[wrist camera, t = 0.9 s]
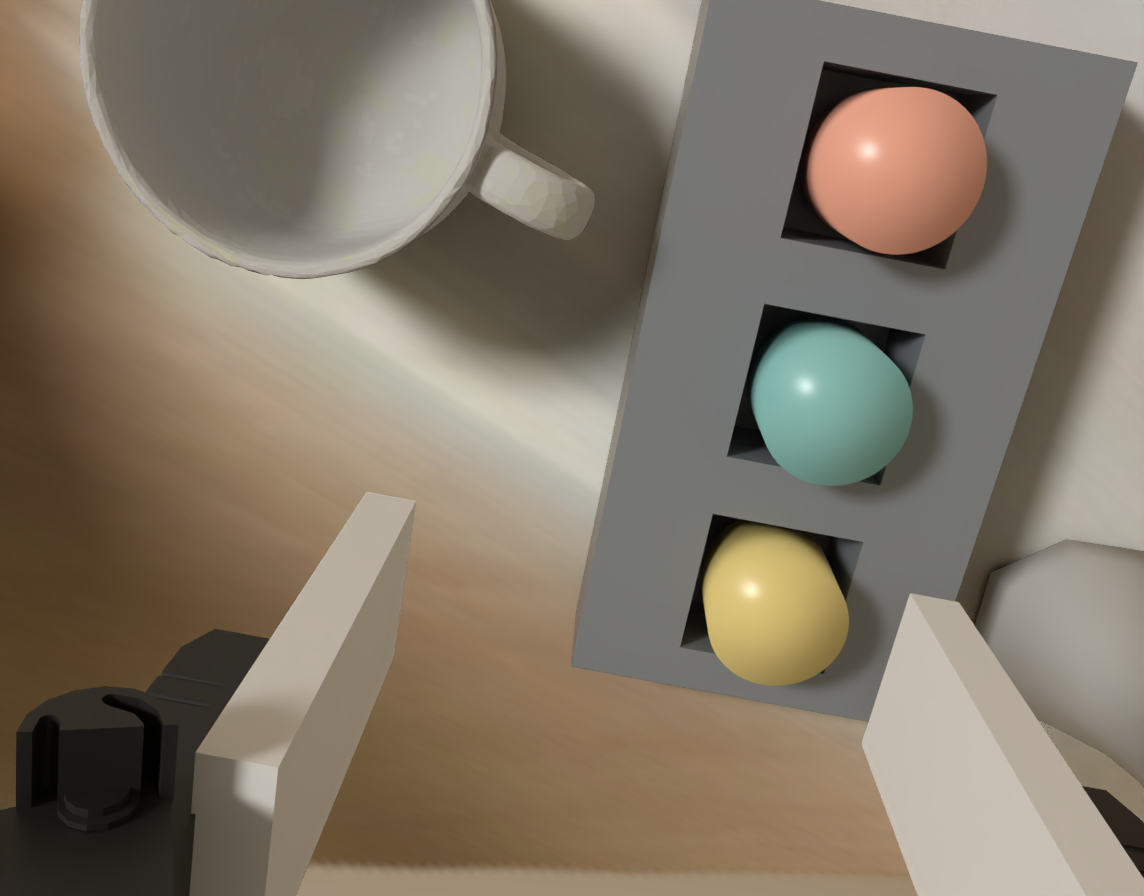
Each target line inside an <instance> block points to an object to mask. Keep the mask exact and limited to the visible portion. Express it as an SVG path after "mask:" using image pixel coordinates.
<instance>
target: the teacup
mask: <svg viewBox="0 0 1144 896" xmlns="http://www.w3.org/2000/svg"><path fill="white" fill-rule="evenodd" d="M80 65H81V72H82V78H83V84H84V88H85V92H86V96H87V101H88V106H89V108H90V111H91V113H92V116H93V121H94V124H95V126H96V128H97V129H98V131H99V134H100V137H101V140H102V142H103V145H104V147H105V149H106V151H107V152H108V154H109V156H110V158H111V160H112V162H113V163H114V165H115V167H116V169H117V170H118V172H119V173H120V175H121V176H122V178H123V179H124V181H125V182H126V183H127V185H128V186H129V187H130V189H131V190H132V191H133V193H134V194H135V195H136V197H137V198H138V199H139V200H140V202H141V203H142V204H144V205H145V206H146V207H147V208H148V209H149V210H150V212H151V213H152V214H153V215H154V216H155V217H156V219H158V220H159V221H160V222H161V223H162V224H164V225H165V226H166V227H167V228H168V229H169V230H170V231H171V232H172V233H174V234H176V235H178V236H180V237H181V238H182V239H183V240H185V241H186V242H187V243H189V244H190V245H192V246H193V247H195V248H197V249H198V250H200V251H201V252H203V253H205V254H206V255H208V256H209V257H211V258H214V259H218V260H220V261H222V262H224V263H226V264H228V265H230V266H236V267H242V268H244V269H246V270H248V271H252V272H256V273H260V274H264V275H274V276H277V277H283V278H294V279H311V278H319V277H325V276H331V275H337V274H343V273H348V272H352V271H355V270H358V269H361V268H364V267H367V266H370V265H373V264H375V263H377V262H380V261H382V260H384V259H386V258H388V257H390V256H392V255H394V254H396V253H398V252H399V251H401V250H402V249H404V248H405V247H406V246H408V245H409V244H411V243H412V242H413V241H415V240H416V239H417V238H418V237H420V236H421V235H423V234H425V233H426V232H428V231H429V230H431V229H432V228H433V227H435V226H436V225H437V224H439V223H440V222H441V221H442V220H444V219H445V218H446V217H447V216H448V215H449V214H450V213H451V212H452V211H453V210H454V209H455V208H456V207H457V206H458V205H459V204H460V203H461V201H462V200H463V199H464V198H465V197H466V196H467V194H468V193H469V192H470V193H472V194H473V195H475V196H476V197H477V198H479V199H480V200H482V201H484V202H486V203H487V204H489V205H491V206H493V207H494V208H496V209H498V210H499V211H501V212H503V213H505V214H506V215H508V216H511V217H513V218H514V219H516V220H518V221H519V222H521V223H523V224H525V225H527V226H529V227H531V228H533V229H536V230H538V231H540V232H543V233H545V234H548V235H550V236H553V237H555V238H558V239H563V240H571V239H573V238H575V237H577V236H578V235H580V234H581V233H582V232H583V230H584V229H585V227H586V225H587V223H588V221H589V219H590V217H591V214H592V212H593V210H594V207H595V195H594V193H593V191H592V190H591V189H590V188H589V187H587V186H586V185H585V184H584V183H582V182H581V181H579V180H577V179H576V178H574V177H572V176H571V175H569V174H567V173H566V172H564V171H563V170H561V169H559V168H558V167H556V166H554V165H552V164H550V163H548V162H546V161H545V160H543V159H542V158H540V157H538V156H536V155H535V154H533V153H531V152H529V151H527V150H525V149H523V148H522V147H520V146H518V145H517V144H515V143H514V142H512V141H511V140H509V139H508V138H506V137H505V136H503V135H502V134H501V133H500V128H501V124H502V119H503V112H504V106H505V95H506V62H505V51H504V46H503V40H502V35H501V31H500V27H499V24H498V21H497V17H496V14H495V11H494V8H493V6H492V3H491V0H83V3H82V9H81V17H80Z"/></svg>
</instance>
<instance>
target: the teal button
mask: <svg viewBox="0 0 1144 896" xmlns="http://www.w3.org/2000/svg"><path fill="white" fill-rule="evenodd" d="M747 396H748V401H749V404H750V407H751V409H752V412H753V414H754V417H755V419H756V422H757V424H758V427H759V429H760V431H761V434H762V436H763V439H764V441H765V444H766V446H767V448H768V450H769V452H770V453H771V455H772V456H773V458H774V459H775V460H776V462H777V463H778V464H779V465H780V466H781V467H782V468H783V469H785V470H786V471H787V472H789V473H790V474H791V475H793V476H795V477H797V478H799V479H801V480H803V481H806V482H809V483H813V484H817V485H824V486H839V485H847V484H851V483H855V482H858V481H861V480H863V479H866V478H868V477H870V476H872V475H874V474H875V473H877V472H878V471H880V470H881V469H883V468H884V467H885V466H886V465H887V464H888V463H890V461H891V460H892V459H893V458H894V457H895V456H896V455H897V453H898V452H899V451H900V449H901V448H902V446H903V444H904V442H905V440H906V439H907V436H908V433H909V431H910V427H911V423H912V416H913V401H912V396H911V391H910V388H909V386H908V383H907V381H906V379H905V377H904V375H903V374H902V372H901V371H900V369H899V368H898V367H897V366H896V365H895V364H894V363H893V362H892V361H891V360H890V359H889V358H888V357H887V356H886V355H885V354H884V353H883V352H882V351H881V350H880V349H879V348H878V347H877V346H876V345H875V344H874V343H873V342H872V341H871V340H870V339H869V338H868V337H867V336H866V335H865V334H864V333H863V332H861V331H860V330H859V329H857V328H856V327H854V326H853V325H851V324H849V323H847V322H845V321H842V320H839V319H835V318H831V317H823V316H818V317H807V318H802V319H798V320H795V321H792V322H790V323H787V324H786V325H784V326H782V327H780V328H779V329H777V330H776V331H774V332H773V333H772V334H771V335H770V336H769V337H768V338H766V339H765V341H764V342H763V343H762V344H761V345H760V347H759V348H758V350H757V351H756V353H755V355H754V357H753V359H752V361H751V364H750V367H749V370H748V375H747Z"/></svg>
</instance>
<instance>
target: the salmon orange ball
mask: <svg viewBox="0 0 1144 896" xmlns="http://www.w3.org/2000/svg"><path fill="white" fill-rule="evenodd" d="M986 172H987V153H986V146H985V142H984V139H983V135H982V133H981V131H980V129H979V126H978V124H977V123H976V121H975V120H974V118H973V117H972V115H971V114H970V113H969V112H968V111H967V110H966V108H965V107H963V106H962V105H961V104H960V103H959V102H958V101H956V100H955V99H953V98H951V97H950V96H948V95H946V94H944V93H941V92H939V91H936V90H932V89H928V88H921V87H899V88H878V89H868V90H863V91H859V92H856V93H853V94H851V95H848V96H846V97H844V98H843V99H841V100H839V101H837V102H836V103H835V104H833V105H832V106H831V107H829V108H828V109H827V110H826V111H825V112H824V113H823V114H822V115H821V116H820V118H819V119H818V120H817V121H816V123H815V124H814V126H813V127H812V129H811V131H810V132H809V134H808V136H807V139H806V141H805V144H804V147H803V150H802V155H801V161H800V178H801V184H802V189H803V192H804V195H805V198H806V200H807V202H808V204H809V206H810V207H811V209H812V210H813V211H814V213H815V214H816V215H817V216H818V217H819V218H820V220H821V221H823V222H824V223H825V224H826V225H828V226H829V227H831V228H832V229H834V230H836V231H837V232H839V233H840V234H842V235H844V236H845V237H847V238H849V239H850V240H852V241H853V242H855V243H857V244H859V245H860V246H862V247H864V248H867V249H869V250H871V251H875V252H879V253H884V254H892V255H895V254H909V253H915V252H918V251H922V250H925V249H928V248H930V247H932V246H935V245H936V244H938V243H940V242H942V241H944V240H945V239H946V238H948V237H949V236H950V235H952V234H953V233H954V232H955V231H956V230H957V229H958V228H960V227H961V226H962V224H963V223H964V222H965V221H966V220H967V219H968V217H969V216H970V214H971V213H972V211H973V210H974V208H975V206H976V204H977V202H978V201H979V199H980V196H981V193H982V190H983V188H984V183H985V179H986Z"/></svg>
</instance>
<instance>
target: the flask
mask: <svg viewBox="0 0 1144 896" xmlns="http://www.w3.org/2000/svg"><path fill="white" fill-rule="evenodd" d="M975 627H976V629H977V630H978V632H979V633H980V635H981V636H982V638H983V639H984V640H985V642H986V643H987V645H988V646H989V648H990V649H991V651H992V652H993V654H994V655H995V657H996V658H997V660H998V661H999V663H1000V664H1001V666H1002V667H1003V669H1004V670H1005V672H1006V673H1007V675H1008V676H1009V678H1010V679H1011V681H1012V682H1013V684H1014V685H1015V687H1016V688H1017V690H1018V691H1019V693H1020V694H1021V696H1022V697H1023V699H1024V700H1025V702H1026V703H1027V705H1028V706H1029V708H1030V709H1031V711H1032V712H1033V714H1034V715H1035V717H1036V718H1037V719H1038V720H1040V721H1042V722H1045V723H1047V724H1049V725H1051V726H1053V727H1055V728H1057V729H1059V730H1061V731H1063V732H1065V733H1067V734H1069V735H1070V736H1072V737H1074V738H1076V739H1078V740H1080V741H1082V742H1084V743H1086V744H1087V745H1089V746H1091V747H1093V748H1095V749H1097V750H1099V751H1101V752H1103V753H1104V754H1106V755H1107V756H1109V757H1110V758H1111V759H1112V760H1113V761H1115V762H1116V763H1117V764H1118V765H1119V766H1121V767H1122V768H1123V769H1124V770H1126V771H1127V772H1128V773H1129V774H1130V775H1132V776H1133V777H1134V778H1135V779H1136V780H1138V781H1139V782H1140V783H1141V785H1142V786H1143V787H1144V551H1140V550H1133V549H1126V548H1120V547H1113V546H1107V545H1100V544H1093V543H1087V542H1080V541H1074V540H1067V539H1066V540H1064V541H1062V542H1059V543H1057V544H1055V545H1053V546H1050V547H1048V548H1046V549H1043V550H1041V551H1039V552H1037V553H1034V554H1032V555H1030V556H1027V557H1025V558H1023V559H1021V560H1018V561H1016V562H1014V563H1012V564H1009V565H1007V566H1005V567H1002V568H1000V569H998V570H996V571H993V572H991V573H990V577H989V580H988V583H987V587H986V590H985V593H984V596H983V600H982V603H981V606H980V610H979V613H978V616H977V620H976V623H975Z"/></svg>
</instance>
